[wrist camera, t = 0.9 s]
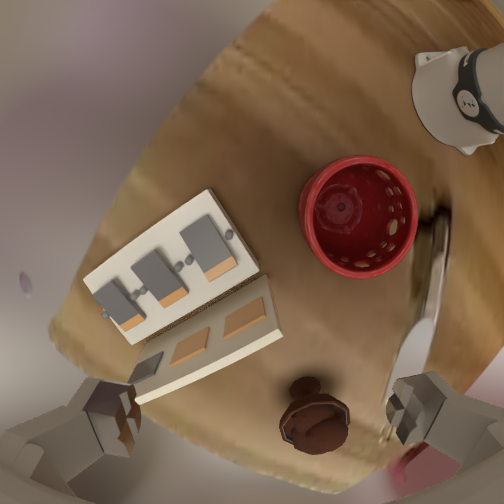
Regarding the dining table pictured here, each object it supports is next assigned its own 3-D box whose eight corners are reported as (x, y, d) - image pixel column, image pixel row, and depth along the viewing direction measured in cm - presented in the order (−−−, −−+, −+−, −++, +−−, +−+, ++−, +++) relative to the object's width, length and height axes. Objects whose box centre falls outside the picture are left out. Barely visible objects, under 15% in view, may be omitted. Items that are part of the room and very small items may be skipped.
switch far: (113, 278, 35) (111, 282, 35) (146, 316, 38) (145, 320, 37) (94, 292, 36) (91, 296, 35) (126, 328, 39) (125, 332, 38)
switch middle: (155, 248, 35) (154, 251, 34) (188, 290, 37) (188, 294, 36) (131, 265, 35) (129, 268, 34) (165, 305, 38) (164, 308, 37)
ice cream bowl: (277, 364, 46) (289, 431, 31) (342, 364, 46) (371, 424, 31) (270, 409, 48) (277, 474, 33) (328, 408, 49) (349, 467, 34)
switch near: (207, 214, 35) (206, 214, 34) (238, 264, 35) (237, 265, 35) (180, 232, 35) (178, 232, 35) (210, 281, 36) (209, 282, 35)
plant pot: (348, 143, 38) (386, 132, 26) (389, 223, 40) (435, 239, 29) (269, 191, 39) (280, 196, 27) (317, 270, 42) (343, 303, 30)
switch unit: (210, 188, 39) (188, 194, 23) (269, 279, 42) (283, 336, 26) (94, 271, 41) (35, 313, 25) (151, 346, 44) (118, 412, 29)
